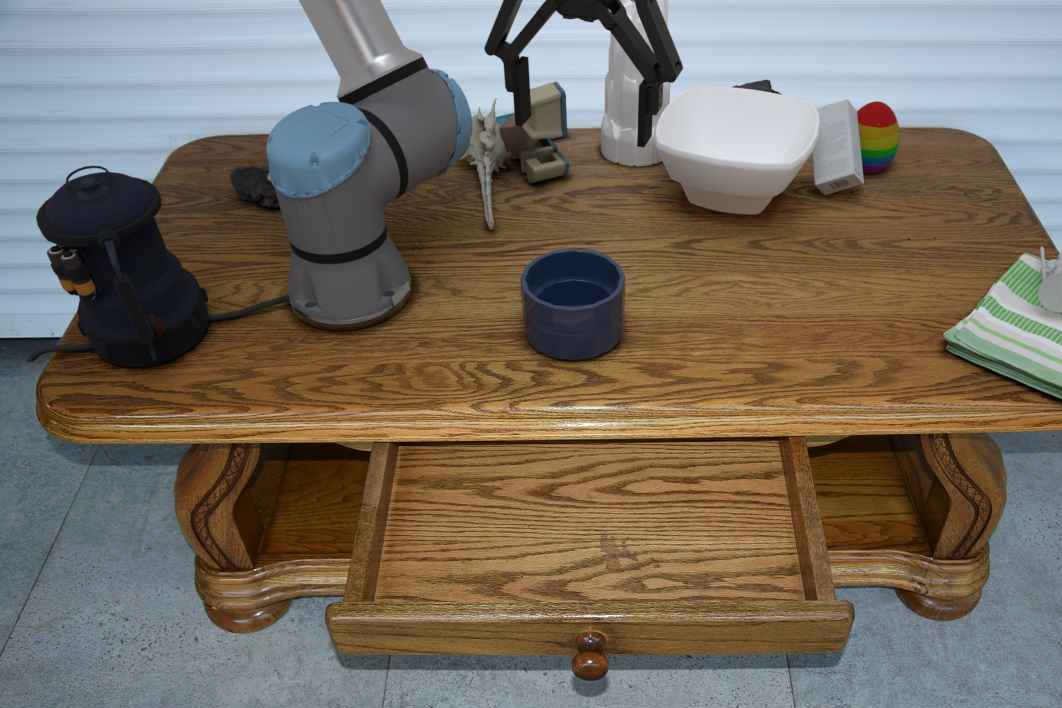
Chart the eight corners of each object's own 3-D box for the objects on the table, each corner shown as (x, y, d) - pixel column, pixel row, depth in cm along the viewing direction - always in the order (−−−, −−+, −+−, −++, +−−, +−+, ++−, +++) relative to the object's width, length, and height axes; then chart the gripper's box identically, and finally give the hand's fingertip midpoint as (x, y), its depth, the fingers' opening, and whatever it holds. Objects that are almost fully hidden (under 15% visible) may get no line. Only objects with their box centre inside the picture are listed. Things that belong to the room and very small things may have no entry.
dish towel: (935, 348, 112) (940, 330, 110) (1014, 263, 125) (1019, 246, 123) (1087, 413, 103) (1095, 394, 101) (1155, 314, 116) (1163, 296, 114)
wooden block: (506, 153, 139) (529, 129, 144) (529, 151, 137) (552, 127, 143) (497, 127, 137) (521, 104, 142) (520, 125, 135) (544, 102, 140)
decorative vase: (664, 170, 143) (672, 2, 126) (595, 163, 145) (594, -4, 127) (674, 136, 151) (683, -26, 134) (608, 130, 152) (609, -31, 135)
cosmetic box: (864, 185, 135) (858, 110, 138) (854, 174, 131) (848, 97, 134) (824, 196, 138) (819, 123, 141) (813, 185, 135) (807, 110, 137)
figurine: (1049, 266, 111) (1045, 229, 120) (1030, 305, 114) (1028, 266, 123) (1095, 279, 110) (1087, 241, 119) (1075, 317, 113) (1069, 277, 122)
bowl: (792, 251, 127) (804, 174, 119) (635, 222, 132) (637, 147, 124) (819, 172, 142) (831, 99, 134) (677, 149, 147) (681, 78, 139)
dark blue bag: (80, 310, 117) (104, 418, 105) (6, 165, 102) (24, 272, 90) (201, 277, 122) (237, 377, 110) (148, 133, 106) (183, 232, 94)
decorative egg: (888, 152, 146) (902, 91, 140) (897, 179, 140) (912, 116, 134) (835, 150, 147) (846, 89, 140) (841, 177, 141) (854, 115, 134)
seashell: (459, 247, 132) (449, 137, 147) (520, 245, 134) (504, 136, 149) (458, 189, 124) (448, 78, 139) (523, 187, 126) (506, 78, 141)
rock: (209, 175, 131) (259, 123, 131) (231, 187, 139) (278, 138, 139) (273, 235, 131) (322, 183, 131) (291, 243, 140) (337, 194, 140)
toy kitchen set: (484, 50, 141) (550, 37, 144) (494, 138, 151) (555, 124, 154) (528, 99, 129) (599, 83, 132) (535, 191, 139) (601, 175, 142)
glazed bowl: (534, 370, 109) (531, 316, 104) (517, 309, 118) (513, 255, 112) (634, 355, 111) (636, 300, 106) (610, 295, 120) (610, 242, 114)
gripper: (725, -86, 84) (706, 133, 99) (471, -112, 90) (489, 97, 105) (703, -60, 79) (687, 167, 94) (436, -90, 85) (460, 128, 100)
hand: (582, 131), depth 99 cm, fingers open, 13 cm apart
